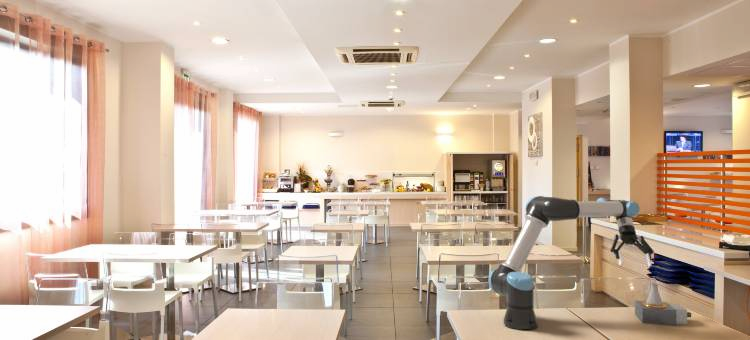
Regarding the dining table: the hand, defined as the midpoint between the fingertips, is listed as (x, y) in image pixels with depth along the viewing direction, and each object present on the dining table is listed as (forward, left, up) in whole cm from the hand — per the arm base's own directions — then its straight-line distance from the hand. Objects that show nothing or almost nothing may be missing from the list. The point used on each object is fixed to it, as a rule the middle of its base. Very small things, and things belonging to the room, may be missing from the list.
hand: (635, 265), depth 241 cm
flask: (+7, -7, -17) cm, 19 cm away
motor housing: (+11, -7, -24) cm, 27 cm away
